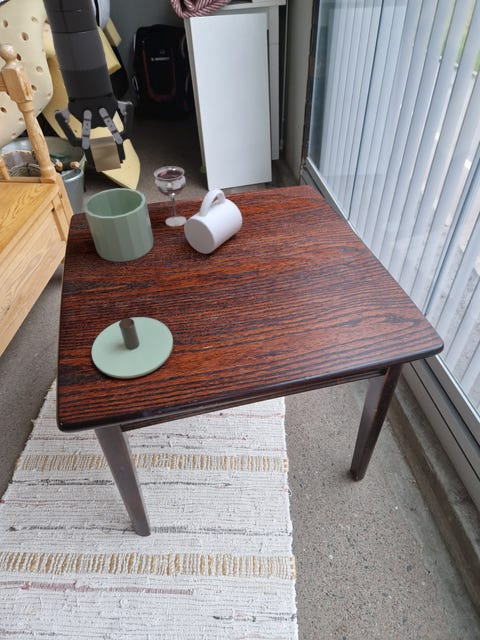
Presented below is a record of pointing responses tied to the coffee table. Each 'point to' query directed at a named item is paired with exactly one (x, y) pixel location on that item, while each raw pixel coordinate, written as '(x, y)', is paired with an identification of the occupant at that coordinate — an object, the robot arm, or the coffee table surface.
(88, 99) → the robot arm
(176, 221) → the wineglass
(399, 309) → the coffee table surface
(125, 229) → the jar
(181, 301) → the coffee table surface
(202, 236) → the mug
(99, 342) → the lid
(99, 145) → the block
